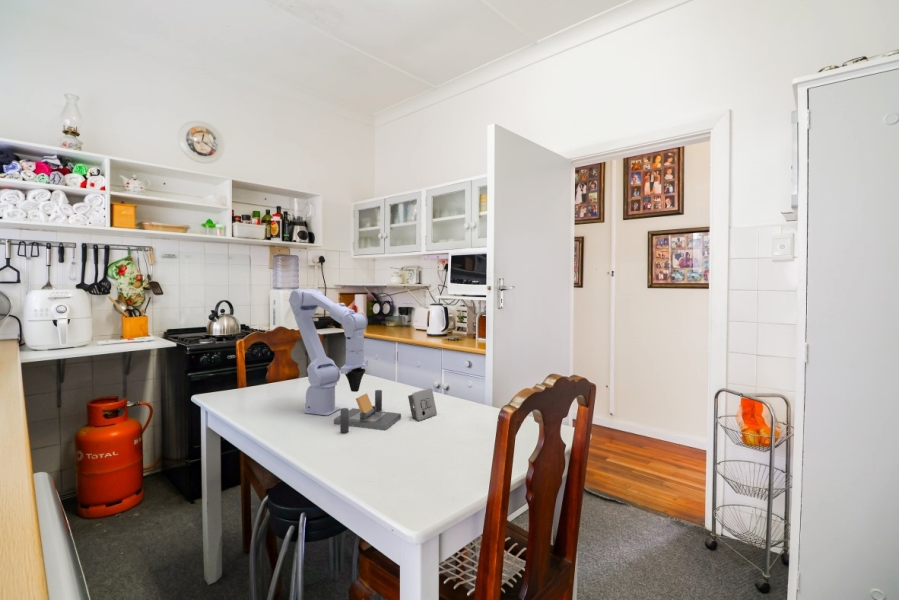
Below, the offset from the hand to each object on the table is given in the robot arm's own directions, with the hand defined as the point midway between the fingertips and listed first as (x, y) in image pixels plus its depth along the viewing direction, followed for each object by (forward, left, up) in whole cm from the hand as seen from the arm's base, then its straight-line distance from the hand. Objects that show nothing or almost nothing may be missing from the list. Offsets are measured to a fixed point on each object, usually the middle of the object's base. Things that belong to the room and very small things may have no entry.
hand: (354, 391), depth 143 cm
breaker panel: (+5, 0, -9) cm, 11 cm away
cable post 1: (+3, -11, -9) cm, 15 cm away
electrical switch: (+20, +10, -10) cm, 24 cm away
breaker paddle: (+5, 0, -7) cm, 8 cm away
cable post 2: (+3, +12, -9) cm, 15 cm away
